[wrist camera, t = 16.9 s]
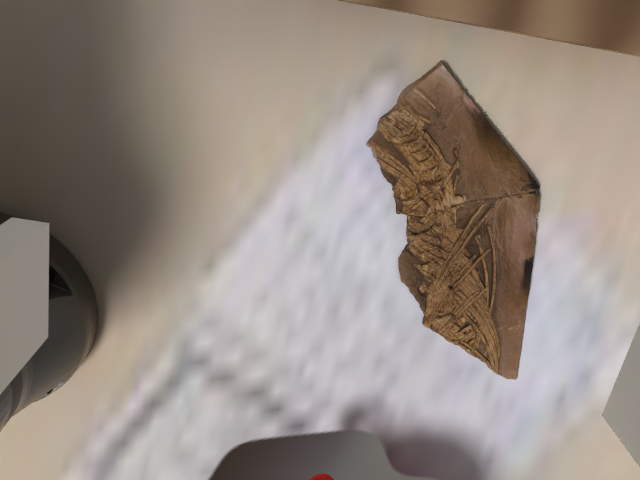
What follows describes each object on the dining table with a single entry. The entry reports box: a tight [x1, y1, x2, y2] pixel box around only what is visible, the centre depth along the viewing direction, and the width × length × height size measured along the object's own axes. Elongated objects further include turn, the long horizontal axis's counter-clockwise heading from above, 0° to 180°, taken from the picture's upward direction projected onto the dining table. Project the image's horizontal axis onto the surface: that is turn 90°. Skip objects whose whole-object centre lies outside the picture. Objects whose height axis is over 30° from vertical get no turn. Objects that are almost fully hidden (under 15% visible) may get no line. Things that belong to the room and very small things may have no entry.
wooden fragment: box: [367, 61, 540, 379], centre depth 43 cm, size 26×11×1 cm, turn 16°
